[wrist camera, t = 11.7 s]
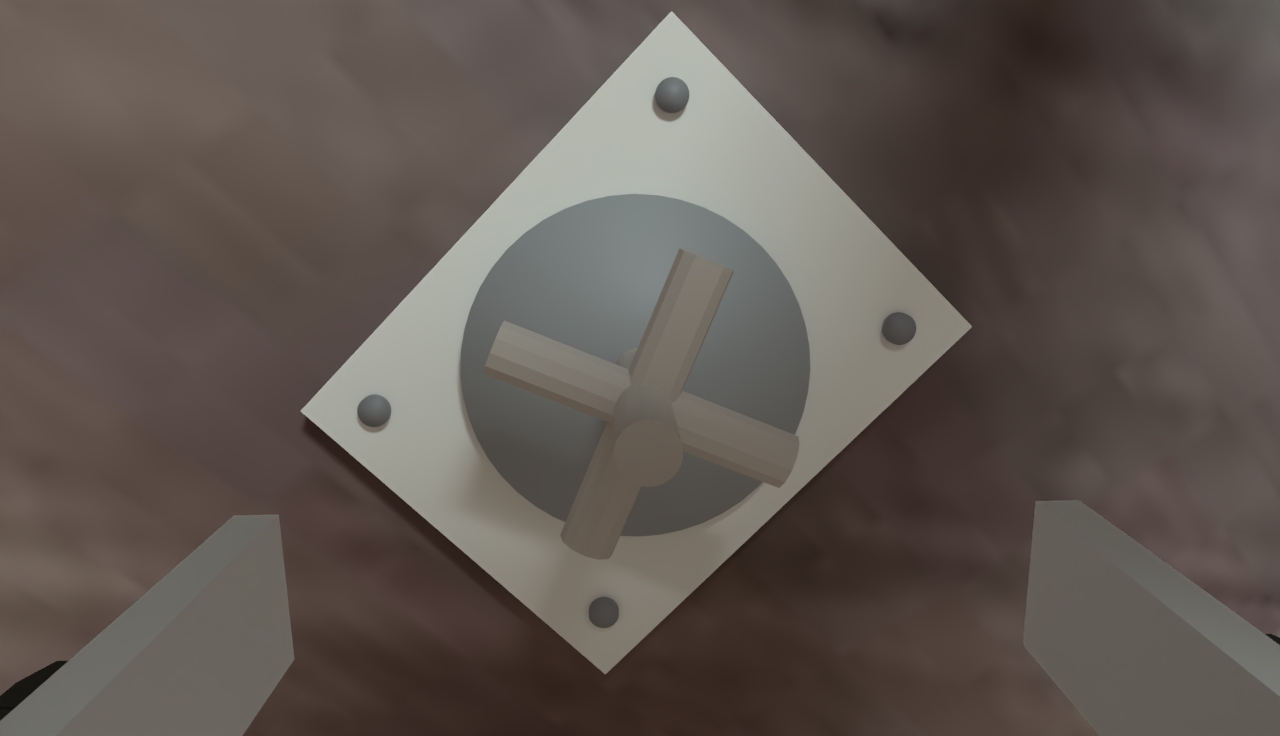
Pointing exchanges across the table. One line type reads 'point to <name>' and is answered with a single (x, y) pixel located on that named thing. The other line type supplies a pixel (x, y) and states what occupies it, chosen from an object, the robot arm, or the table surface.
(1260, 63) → the table surface
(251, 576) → the robot arm
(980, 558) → the table surface
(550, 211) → the duct panel
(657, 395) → the pipe connector
